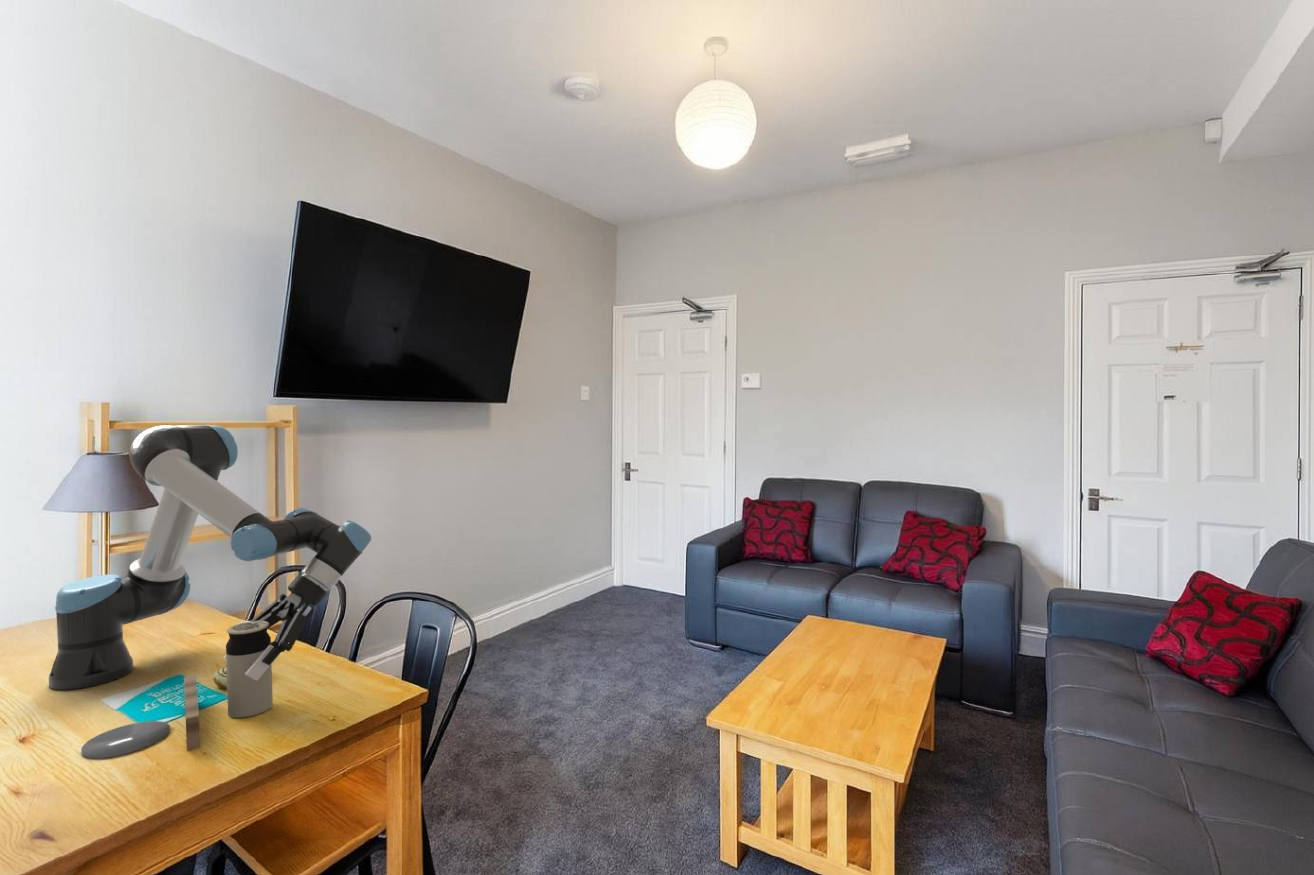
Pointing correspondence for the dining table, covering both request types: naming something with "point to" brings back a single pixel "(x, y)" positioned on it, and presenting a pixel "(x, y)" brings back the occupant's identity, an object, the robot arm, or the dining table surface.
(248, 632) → the travel mug
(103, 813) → the dining table surface
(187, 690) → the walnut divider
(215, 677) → the decorated donut
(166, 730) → the grey oval pebble
